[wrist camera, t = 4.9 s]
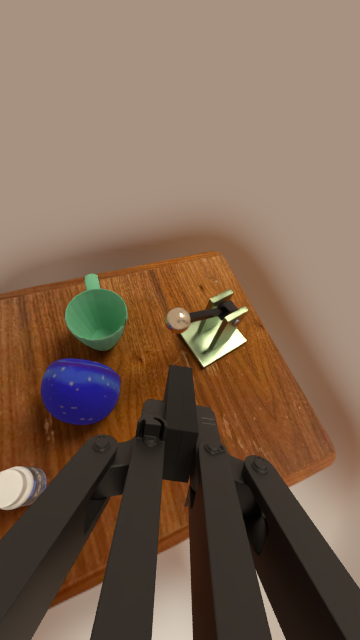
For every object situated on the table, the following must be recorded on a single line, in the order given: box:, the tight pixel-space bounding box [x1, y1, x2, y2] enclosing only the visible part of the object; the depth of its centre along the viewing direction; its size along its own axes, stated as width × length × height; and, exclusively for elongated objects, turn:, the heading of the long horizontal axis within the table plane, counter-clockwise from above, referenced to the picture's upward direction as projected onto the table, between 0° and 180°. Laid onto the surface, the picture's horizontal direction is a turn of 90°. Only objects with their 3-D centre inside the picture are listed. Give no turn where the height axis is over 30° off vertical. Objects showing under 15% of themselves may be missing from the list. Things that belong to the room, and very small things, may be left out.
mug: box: [65, 274, 128, 351], centre depth 49 cm, size 15×10×10 cm
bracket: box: [179, 289, 248, 369], centre depth 49 cm, size 11×9×13 cm
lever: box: [165, 300, 238, 334], centre depth 41 cm, size 15×4×4 cm, turn 123°
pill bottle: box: [0, 466, 47, 510], centre depth 35 cm, size 5×5×8 cm
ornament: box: [41, 358, 120, 425], centre depth 39 cm, size 11×9×15 cm
